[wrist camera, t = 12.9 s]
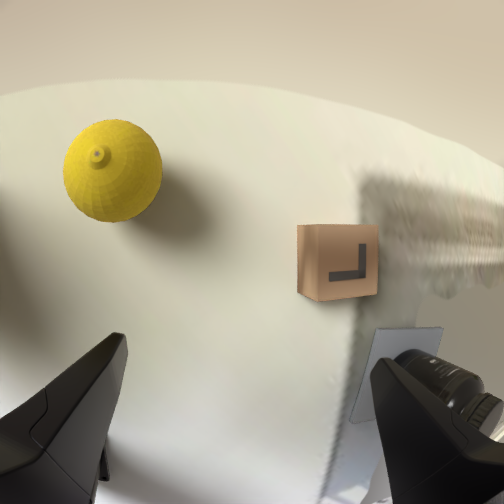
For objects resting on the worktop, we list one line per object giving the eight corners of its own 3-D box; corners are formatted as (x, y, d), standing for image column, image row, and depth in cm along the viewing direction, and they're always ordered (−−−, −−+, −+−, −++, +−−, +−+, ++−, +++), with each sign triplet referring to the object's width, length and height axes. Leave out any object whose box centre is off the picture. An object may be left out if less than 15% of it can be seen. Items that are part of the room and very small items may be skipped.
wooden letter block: (351, 286, 24) (377, 294, 20) (296, 291, 22) (318, 302, 19) (351, 225, 23) (379, 224, 20) (296, 225, 22) (318, 224, 18)
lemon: (180, 190, 19) (184, 164, 12) (115, 240, 18) (80, 246, 11) (136, 129, 18) (119, 75, 11) (74, 177, 17) (23, 149, 10)
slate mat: (415, 406, 27) (418, 408, 27) (349, 421, 25) (352, 423, 24) (439, 326, 27) (443, 328, 26) (376, 328, 24) (380, 330, 24)
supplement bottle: (430, 345, 26) (518, 381, 14) (411, 401, 26) (487, 448, 15) (387, 348, 24) (487, 398, 13) (367, 410, 24) (447, 475, 13)
